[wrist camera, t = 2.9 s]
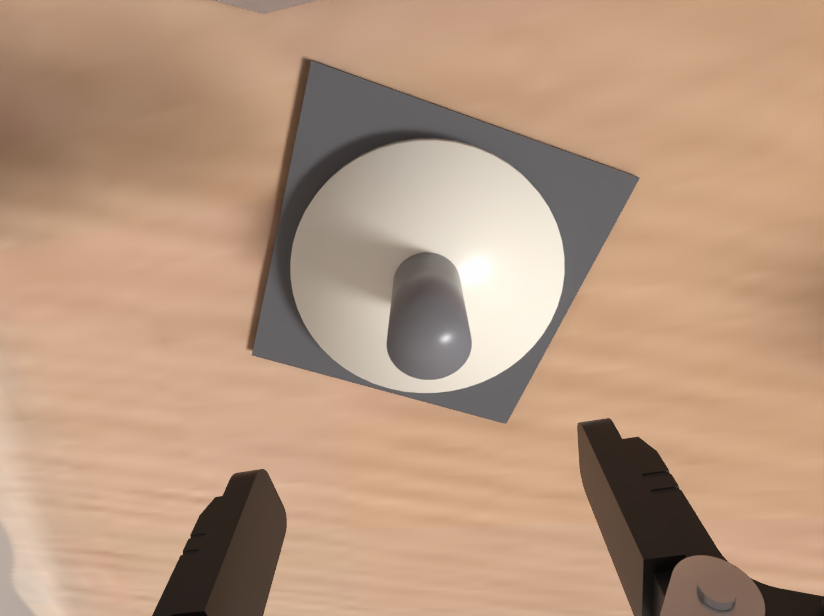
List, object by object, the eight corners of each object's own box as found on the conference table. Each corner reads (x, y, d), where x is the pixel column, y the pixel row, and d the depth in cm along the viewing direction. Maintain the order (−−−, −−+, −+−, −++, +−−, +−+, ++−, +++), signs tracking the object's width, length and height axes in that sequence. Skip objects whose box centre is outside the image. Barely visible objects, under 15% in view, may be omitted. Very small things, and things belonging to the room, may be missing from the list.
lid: (607, 190, 22) (677, 239, 16) (497, 406, 27) (518, 498, 22) (328, 95, 20) (291, 109, 14) (273, 346, 26) (231, 429, 20)
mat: (636, 176, 22) (639, 178, 21) (504, 419, 28) (506, 423, 28) (312, 60, 20) (311, 60, 19) (254, 351, 26) (252, 355, 26)
